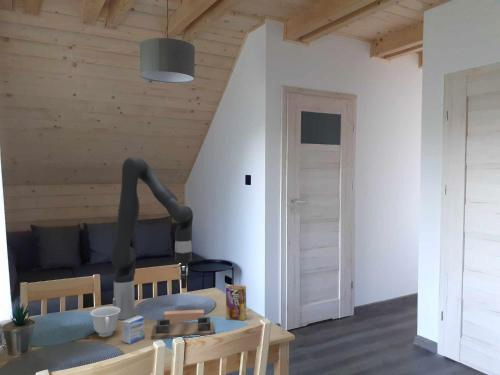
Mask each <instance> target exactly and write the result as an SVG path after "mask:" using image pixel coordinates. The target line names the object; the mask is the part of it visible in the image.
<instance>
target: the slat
mask: <svg viewBox="0 0 500 375" xmlns="http://www.w3.org/2000/svg"><path fill="white" fill-rule="evenodd" d="M201 317H205V310H204V309H191V310H190V309H189V310H187V309H186V310H167V311H166V310H165V311H164V312H163V319H170V324H179V323H178V322H184V321H192V320H198V318H201Z"/></svg>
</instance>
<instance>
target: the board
mask: <svg viewBox="0 0 500 375" xmlns="http://www.w3.org/2000/svg"><path fill="white" fill-rule="evenodd" d="M212 334H215V335H216V330H215V324H214V321H211V317H210V316H204V317H201V318H198V322H188V323H170V319H164V318H163V319H157V320H156V324H154V325H153V327H152V331H151V334H150V339H151V340H167V339H166V338H170V339H174V338H173V337H182V336H184V337H185V336H190V335H200V336H204V335H212ZM204 337H205V336H204Z"/></svg>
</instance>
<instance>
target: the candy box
mask: <svg viewBox="0 0 500 375" xmlns="http://www.w3.org/2000/svg"><path fill="white" fill-rule="evenodd" d="M225 304H226V305H225V310H226V311H225V312H226V315H225V317H226V320H234V321H235V320H238V321H239V320H240V321H245V320H246V318H247V285H244V284H243V285H241V284H227V285H226V286H225Z"/></svg>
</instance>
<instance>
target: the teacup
mask: <svg viewBox="0 0 500 375" xmlns="http://www.w3.org/2000/svg"><path fill="white" fill-rule="evenodd" d="M119 312H120V308H118V307H114V306H113V305H112V306H111V305H109V306H101V307H97V308H94V309H92V310H91V311H90V312H89V314H90V315H91V317H92V322H93V324H92V325H93V328H94V331H95V332H96V333H97V334H98V337H101V338H107V337H110V336H112V335H113V334H114V332H115V330H117V327H118V321H119V319H118V315H119Z"/></svg>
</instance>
